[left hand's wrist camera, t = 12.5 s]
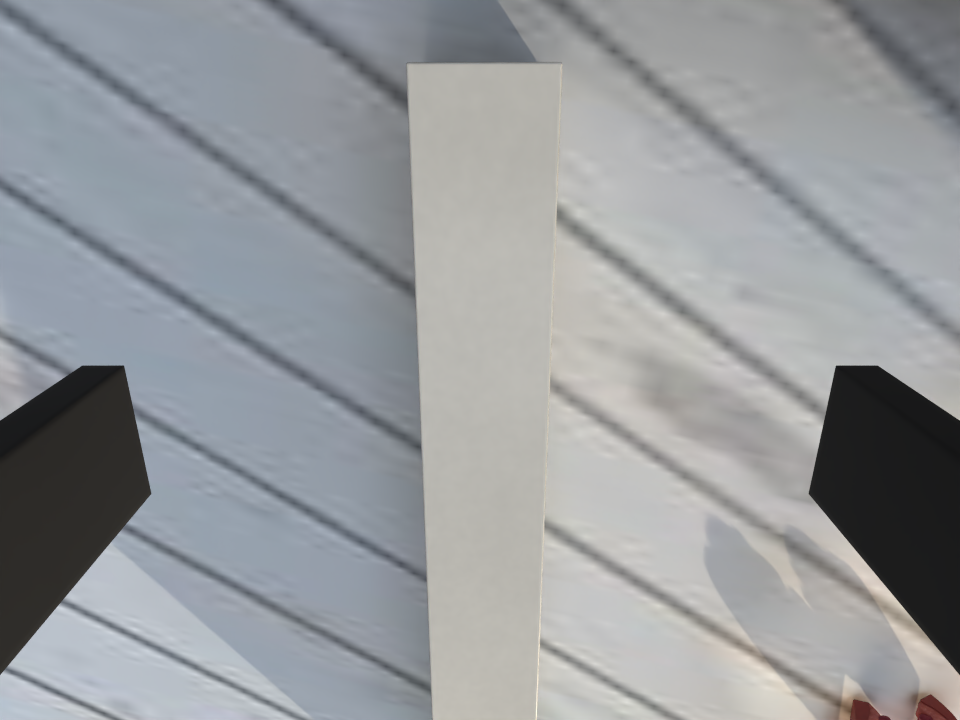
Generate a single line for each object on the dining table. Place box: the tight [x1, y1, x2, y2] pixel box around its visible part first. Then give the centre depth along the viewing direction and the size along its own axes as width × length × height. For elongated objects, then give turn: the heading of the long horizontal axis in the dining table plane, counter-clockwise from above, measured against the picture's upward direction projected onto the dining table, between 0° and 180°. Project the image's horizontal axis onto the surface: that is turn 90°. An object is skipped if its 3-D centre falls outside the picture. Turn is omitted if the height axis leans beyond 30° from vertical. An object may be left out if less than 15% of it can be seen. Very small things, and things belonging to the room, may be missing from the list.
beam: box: [406, 62, 562, 720], centre depth 39 cm, size 56×6×8 cm, turn 0°
